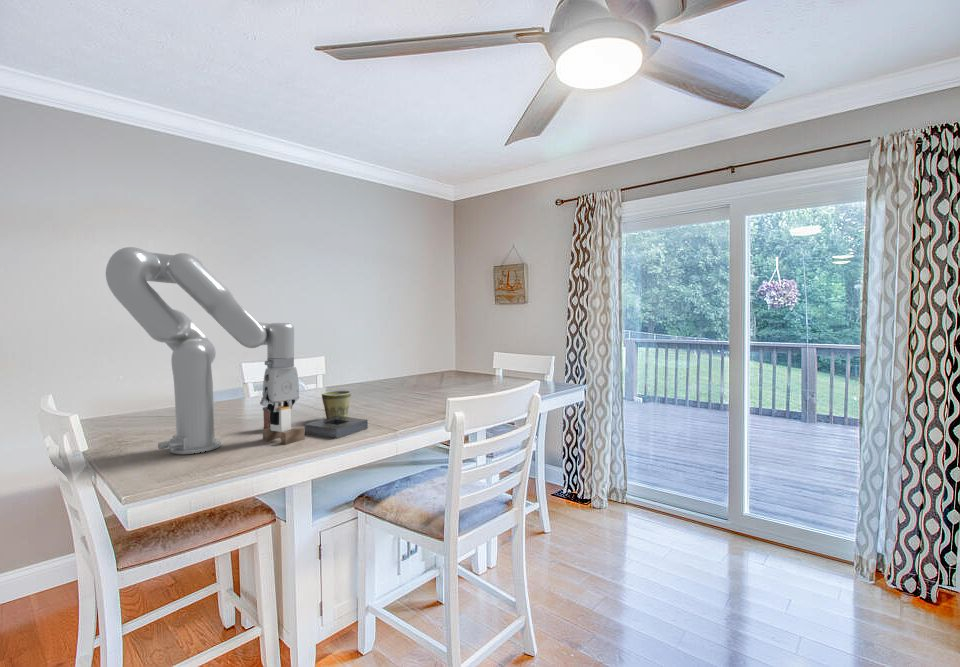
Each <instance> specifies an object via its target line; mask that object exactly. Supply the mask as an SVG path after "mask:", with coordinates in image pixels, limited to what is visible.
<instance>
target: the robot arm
mask: <svg viewBox="0 0 960 667" xmlns="http://www.w3.org/2000/svg"><path fill="white" fill-rule="evenodd" d="M105 280H106V283H107V286H108V288H109V290H110V291H111V293H112V295H113V296H114V297H115V298H116V300H117V301H118V302H119V303H120V304H121V306H123V307H124V309H125V310H126V311H127V312H128V313H129V314H130V316H132V317H133V319H134V320H135V321H136V322H137V323H138V325H140V326H141V327H142V328H143V330H145V332H146V333H147V334H148V336H150V337H151V338H152V340H154V341H156V342H159V343H165V344H166V345H167V347H169V349H170V350H171V351H172V355H171V361H170V362H171V370H172V376H173V390H174V408H175V409H174V410H175V431H176V433H175V435H172V438H171V439H169V440H165V441H162V442H158V443H157V447H158V450H160V451H161V450H163V449H164V450H165V449H170V453H172V454H175V455H194V453H195V454H201V453H206V452H210V451H214V450H216V449H218V448H220V447H221V446H222V441H221V440H220V439H217V438H216V435H215V429H216V428H215V412H214V411H215V408H214V405H215V404H214V385H213V384H214V382H213V381H214V380H213V373H212V372H213V370H212V363H213V362H214V360H215V358H216V355H217V354H216V349H215V348H216V347H215V346H214V344H213V343H212V342H211V340H209V338H208V337H207V336H206V335H205V334H204V333H203V331H201V329H200V328H199V327H198V326H197V325H196V324H195V323H194V322H193V321H192V319H190V317H189V316H187V314H185V313H184V312H182V311H181V310H178V309H174V308H172V307H171V306H170V305H168V303H167V302H166V301H165V300H164V299H163V298H162V297H161V295H160V294H159V293H158V292H157V291H156V290H155V289H154V288H153V287H152V286H151V285H150V284H149V283H148V282H154V283H164V284H176V285H178V286H179V287H180V288H181V289H182V290H183V291H184V292H185V293H187V294H188V296H189V297H191V298H192V299H193V300H194V301H195V302H196V303H197V304H198V305H199V306H200V307H201V308H202V309H204V311H205V312H206V313H207V314H208V315H209V316H210V317H211V318H213V319H214V320H215V321H216V322H217V324H218V325H220V327H222V329H224V330H225V331H226V332H227V333H228V334H229V335H230V336H231V337H232V338H233V339H235V341H237V343H239V345H241V346H243V347H244V348H248V349H256V348H259V347H260V346H267V348H266V349H267V350H266V351H267V353H266V356H267V358H266V359H267V360H265V361H264V365H265V366H266V367H267V368H265V371H264V375H263V381H262V382H263V383H262V398H261V400H260V402H259V404H260V406H263V407H266V408H267V409H268V411H270V424H273V425H279V412H277V410H278V402H282V406H286V407H291V410H292V409H293V406H294V404H295V403H296V402H297V401H298V400H299V399H300V382H299V374H298V370H297V369H298V368H297V367H296V366H295V327H294V325H293V324H292V323H288V322H271V323H265V322H258V321H257V320H255V318H253V317H252V316H251V315H250V313H249V312H247V311H246V310H245V309H244V308H243V307H242V305H241V304H240V303H239V302H238V301H237V300H236V299H235V297H234V295H233V293H232V292H231V291H230V290H229V289H228V288H227V287H226V286H225V284H223V283H222V282H221V281H220V280H219V279H218V278H217V277H216V276H214V274H213V273H211V272H210V271H209V269H207V267H206V266H205V265H204V263H203V262H202V261H201V260H199V258H197V257H196V256H194V255H192V254H191V253H186V252H180V253H179V252H178V253H176V254H166V253H158V252H150V251H147V250H144V249H142V248H138V247H134V246H128V247H121V248H119V249H118V250H116V251H115V252H114V253H113V254H112V255H111V256H110V258H109V260H108V261H107V264H106V268H105ZM268 401H269V403H268ZM273 403H274V406H273ZM205 451H206V452H205ZM200 452H201V453H200Z"/></svg>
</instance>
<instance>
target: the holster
mask: <svg viewBox="0 0 960 667" xmlns="http://www.w3.org/2000/svg"><path fill="white" fill-rule="evenodd" d="M276 438H277V439H280V441H281V442H280V444H281V443H282V444H281V445H285V444H286V445H289V443H290V444H292V443H295V442H299V441H302V440H305V427H303V426H298V427H294V428H291V430H287V431H283V432H278V431H271V429H270V427H269V428H265V429H262V441H263V440H264V441H265V442H270V441H272V440H277V439H276ZM269 440H270V441H269Z"/></svg>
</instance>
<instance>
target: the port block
mask: <svg viewBox="0 0 960 667" xmlns="http://www.w3.org/2000/svg"><path fill="white" fill-rule="evenodd" d="M368 421H369V420H368V419H363V418H357V417H349V416H347V417H343V416H334V417H330V418H324V419H323V418H322V419H320V420H319V419H318V420H315V421H312V422H309V423H308V422H307V423H304V427H303V428H304V431H305V434H306V435H310V436H317V437H324V438H330V439H335V438H336V440H337V439H340V437H341V438H343V436H344V437H346V436H350V435H353V434H355V433H359V432H361V431H364V430H368V428H369V426H368Z"/></svg>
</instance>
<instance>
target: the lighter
mask: <svg viewBox="0 0 960 667" xmlns="http://www.w3.org/2000/svg"><path fill="white" fill-rule="evenodd" d="M268 403H269V401H268ZM273 406H274V403H273ZM278 406H283V401H282V402H278ZM262 412H263V429H265V428H269V427H270V411H268V409H267V408H266V407H265V406H263V407H262ZM263 429H262V430H263Z"/></svg>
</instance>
